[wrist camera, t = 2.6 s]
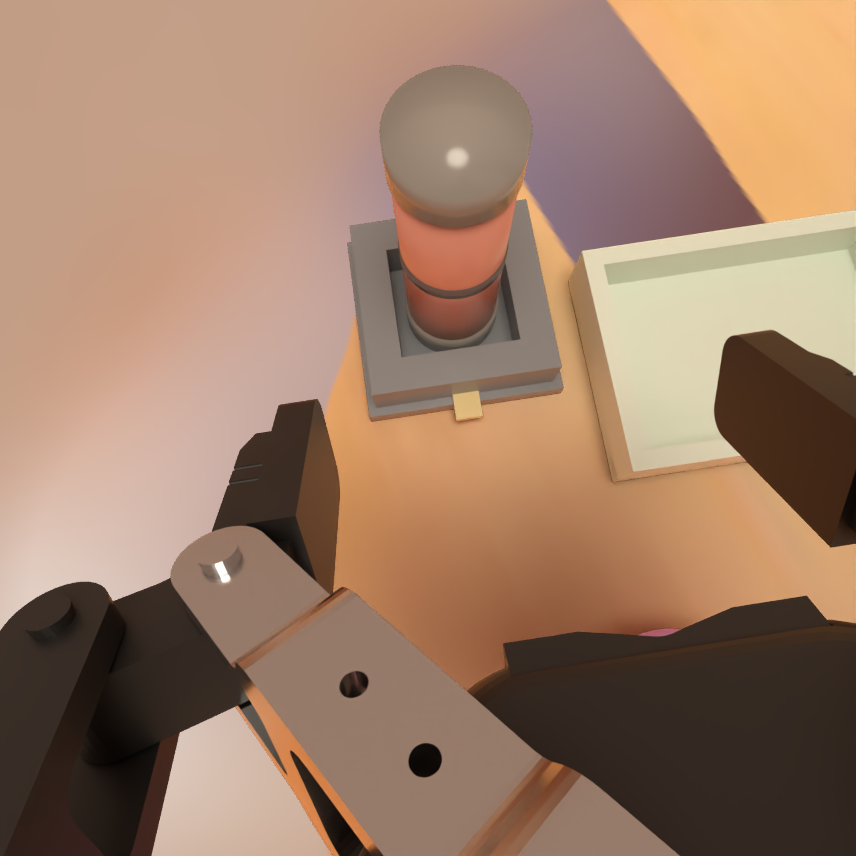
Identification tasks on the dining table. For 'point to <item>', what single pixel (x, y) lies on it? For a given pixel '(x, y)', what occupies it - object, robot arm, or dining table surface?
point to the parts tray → (703, 328)
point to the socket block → (459, 368)
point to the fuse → (454, 196)
